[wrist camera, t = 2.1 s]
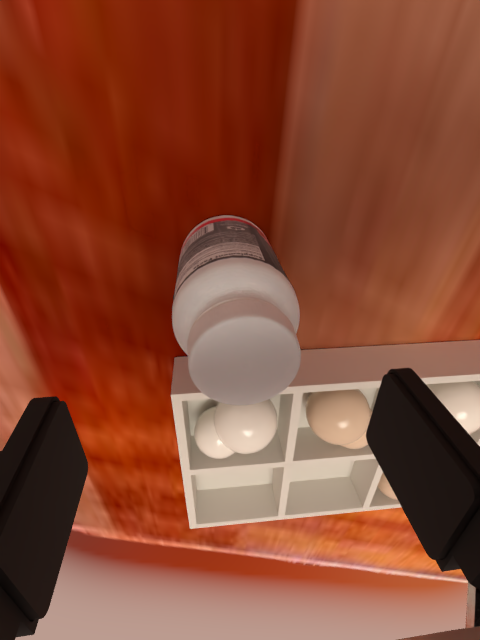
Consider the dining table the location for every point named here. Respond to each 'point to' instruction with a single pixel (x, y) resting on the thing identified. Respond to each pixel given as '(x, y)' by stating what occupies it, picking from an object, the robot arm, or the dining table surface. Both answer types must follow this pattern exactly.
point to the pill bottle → (235, 313)
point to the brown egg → (339, 417)
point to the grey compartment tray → (304, 438)
